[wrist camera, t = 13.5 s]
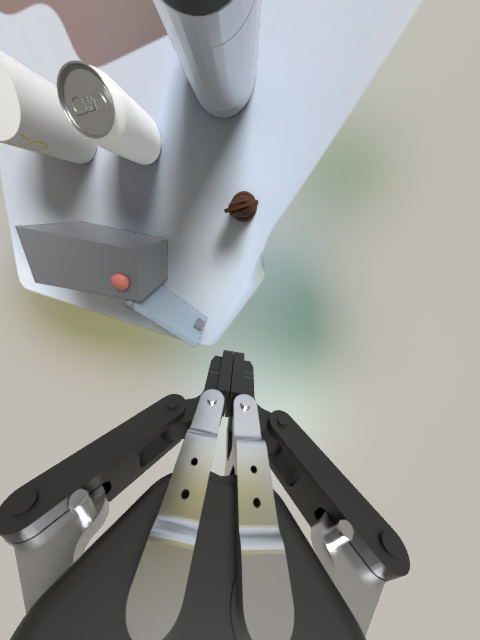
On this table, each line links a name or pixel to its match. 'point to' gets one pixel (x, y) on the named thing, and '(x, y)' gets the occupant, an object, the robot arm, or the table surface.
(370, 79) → the table surface
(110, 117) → the can
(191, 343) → the side door
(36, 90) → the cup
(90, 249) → the grey box
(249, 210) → the chess piece
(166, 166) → the table surface
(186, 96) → the table surface
